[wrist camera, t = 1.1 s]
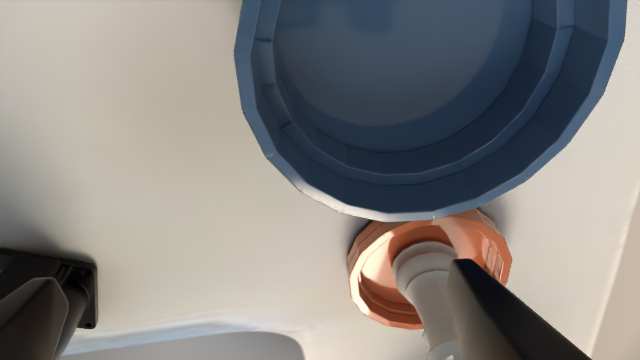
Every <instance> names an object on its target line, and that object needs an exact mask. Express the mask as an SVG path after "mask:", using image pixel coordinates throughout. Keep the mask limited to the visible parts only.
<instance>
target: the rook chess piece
mask: <svg viewBox="0 0 640 360" xmlns="http://www.w3.org/2000/svg"><path fill="white" fill-rule="evenodd" d="M453 259H458V254H457V253H456V252H455V251H454V249H453V248H452V247H450V246H448V245H445V244H443V243H441V242H438V241H427V240H425V241H420V242H416V243H413V244H411V245H409V246H408V247H406V248H404V249H403V250H402V251H401V253H400V254H399V255H398V256H397V257H396V259H395V260H394V263H393V266H392V274H393V277H394V279H395V281H396V285H397V288H398V290H399V292H400V293H401V294H402V295H403V296H404V297H405V298H406V299H407V300H408V301H409V302H410V303H411V304H412V305H414V307H415V308H416V311H417V313H418V315H419V317H420V319H421V321H422V324H423V327H424V330H425V331H424V333H423V339H424V342H425V343H427V344H428V345H429V346H430V351H429V353H428V356H427V358H426V360H463V357H462V354H461V350H460V346H459V342H458V338H457V334H456V329H455V325H454V321H453V317H452V313H451V309H450V304H449V300H448V296H447V291H446V283H447V278H448V274H449V269H450V265H451V262H452V260H453Z"/></svg>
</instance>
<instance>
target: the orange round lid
mask: <svg viewBox="0 0 640 360" xmlns="http://www.w3.org/2000/svg"><path fill="white" fill-rule="evenodd" d="M425 240H427V241H438V242H441V243H443V244H445V245H448V246H450V247H452V248H453V249H454V251H455V252H456V253H457V254H458V259H463V258H469V259H472V260H473V261H475V262H476V263H477V264H478V265H479V266H481V267H482V268H483V269H484V270H485V271H487V272H488V273H489V274H490V275H491V276H493V277H494V278H495V279H496V280H497V281H499V282H500V283H501V284H502V285H503V286H505V284H506V283H507V281H508V277H509V272H510V268H511V263H512V257H511V254H510V252H509V249H508V247H507V244H506V242H505V239H504V237H503V236H502V234H501V232H500V231H499V229H498V227H497V226H496V224H495V223H494V222H493V221H492V220H491V219H489V218H488V217H487V216H485V215H484V214H483V213H481V212H480V211H479V210H477V209H476V208H473V209H470V210H466V211H463V212H460V213H456V214H453V215H449V216H446V217H442V218H439V219H435V220H425V221H404V222H381V221H376V220H374V221H373V222H371V223H370V224H369V225H368V226H367V227H366V228H365V229H364V230H363V231H362V232H361V233H360V234H359V235H358V236H357V238H356V240H355V242H354V244H353V246H352V249H351V251H350V253H349V255H348V258H347V267H348V277H349V286H350V294H351V298H352V300H353V301H354V302H355V303H356V305H357V306H358V307H359V309H360V310H361V311H362V312H363V314H364V315H366V316H368V317H370V318H372V319H374V320H376V321H378V322H380V323H381V324H383V325H386V326H391V327H397V328H403V329H410V330H412V329H413V330H416V329H424V327H423V324H422V321H421V319H420V317H419V315H418V313H417V311H416V308H415V307H414V305H412V304H411V303H410V302H409V301H408V300H407V299H406V298H405V297H404V296H403V295H402V294H401V293H400V292H399V290H398V288H397V285H396V281H395V279H394V277H393V274H392V266H393V263H394V260H395V259H396V257H397V256H398V255H399V254H400V253H401V251H402V250H403V249H404V248H406V247H408V246H409V245H411V244H413V243H416V242H420V241H425Z"/></svg>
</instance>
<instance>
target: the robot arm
mask: <svg viewBox="0 0 640 360" xmlns="http://www.w3.org/2000/svg"><path fill="white" fill-rule="evenodd" d="M446 291H447V296H448V300H449V304H450V309H451V313H452V317H453V321H454V325H455V329H456V334H457V338H458V342H459V346H460V350H461V354H462V357H463V360H592V359H590V358H589V357H588V356H587V355H586V354H585V353H583V352H582V351H581V350H580V349H579V348H577V347H576V346H575V345H574V344H573V343H571V342H570V341H569V340H568V339H567V338H565V337H564V336H563V335H562V334H561V333H559V332H558V331H557V330H556V329H555V328H553V327H552V326H551V325H550V324H549V323H548V322H546V321H545V320H544V319H543V318H542V317H540V316H539V315H538V314H537V313H536V312H534V311H533V310H532V309H531V308H530V307H528V306H527V305H526V304H525V303H524V302H522V301H521V300H520V299H519V298H518V297H516V296H515V295H514V294H513V293H512V292H511V291H509V290H508V289H507V288H506V287H505V286H503V285H502V284H501V283H500V282H499V281H497V280H496V279H495V278H494V277H493V276H491V275H490V274H489V273H488V272H487V271H485V270H484V269H483V268H482V267H481V266H479V265H478V264H477V263H476V262H475V261H473V260H472V259H469V258H463V259H453V260H452V262H451V265H450V269H449V274H448V278H447V283H446ZM97 322H98V291H97V268H96V266H94V265H93V264H90V263H85V262H79V261H73V260H67V259H60V258H54V257H48V256H42V255H36V254H30V253H24V252H18V251H12V250H6V249H0V360H60V358H61V356H62V354H63V352H64V350H65V348H66V347H67V345H68V343H69V341H70V339H71V337H72V335H73V334H74V332H75V330H76V328H84V329H94V328H95V327H96V325H97Z"/></svg>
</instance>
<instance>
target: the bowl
mask: <svg viewBox="0 0 640 360" xmlns="http://www.w3.org/2000/svg"><path fill="white" fill-rule="evenodd" d="M626 12H627V0H243V1H242V7H241V12H240V18H239V24H238V30H237V36H236V41H235V47H234V61H235V67H236V74H237V81H238V87H239V94H240V101H241V107H242V111H243V114H244V116H245V118H246V120H247V122H248V124H249V126H250V128H251V130H252V132H253V133H254V135H255V137H256V139H257V141H258V143H259V145H260V147H261V149H262V151H263V153H264V155H265V157H266V158H267V159H268V160H269V161H270V162H271V163H272V164H273V165H274V166H275V167H276V168H277V169H278V170H279V171H280V172H281V173H282V174H283V175H284V176H285V177H286V178H287V179H288V180H289V181H290V182H291V183H292V184H293V185H294V186H295V187H296V188H297V189H298V190H299V191H300V192H301V193H303V194H305V195H307V196H309V197H311V198H313V199H315V200H317V201H318V202H320V203H322V204H324V205H326V206H328V207H330V208H332V209H334V210H336V211H338V212H340V213H343V214H348V215H352V216H357V217H362V218H367V219H372V220H376V221H381V222H404V221H425V220H435V219H439V218H442V217H446V216H449V215H453V214H456V213H460V212H463V211H466V210H470V209H473V208H477V207H480V206H482V205H484V204H486V203H488V202H490V201H491V200H493V199H495V198H497V197H499V196H500V195H502V194H504V193H506V192H508V191H510V190H511V189H513V188H515V187H517V186H519V185H520V184H522V183H524V182H525V181H527V180H528V179H530V178H531V177H532V176H533V175H534V174H535V173H536V172H537V171H539V170H540V169H541V168H542V167H543V166H544V165H545V164H547V163H548V162H549V161H550V160H551V159H552V158H553V157H554V156H556V155H557V154H558V153H559V152H560V151H561V150H562V149H564V148H565V147H566V146H567V144H568V143H570V141H571V140H572V138H573V137H574V136H575V134H576V133H577V131H578V130H579V128H580V127H581V126H582V124H583V123H584V121H585V120H586V119H587V117H588V116H589V114H590V113H591V112H592V110H593V109H594V107H595V106H596V105H597V103H598V102H599V100H600V99H601V97H602V96H603V94H604V92H605V89H606V86H607V84H608V81H609V78H610V76H611V73H612V71H613V68H614V65H615V63H616V60H617V57H618V55H619V52H620V49H621V47H622V44H623V42H624V37H625V27H626Z"/></svg>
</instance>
